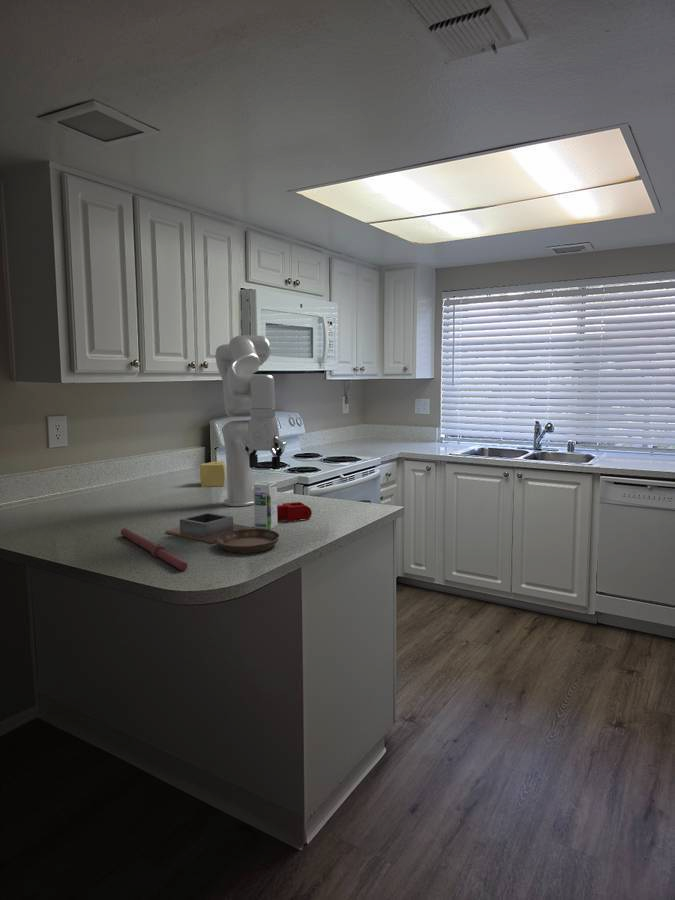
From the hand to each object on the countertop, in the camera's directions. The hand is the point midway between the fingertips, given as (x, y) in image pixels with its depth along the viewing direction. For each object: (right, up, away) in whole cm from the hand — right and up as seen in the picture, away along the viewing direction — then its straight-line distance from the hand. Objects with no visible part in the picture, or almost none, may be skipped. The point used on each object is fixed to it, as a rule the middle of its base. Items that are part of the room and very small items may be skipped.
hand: (264, 468), depth 196 cm
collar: (-16, -20, -3) cm, 26 cm away
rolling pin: (-29, -23, -24) cm, 44 cm away
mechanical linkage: (+6, -18, +13) cm, 23 cm away
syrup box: (0, -19, +3) cm, 19 cm away
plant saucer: (-2, -22, -19) cm, 29 cm away
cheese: (-33, -10, +82) cm, 89 cm away
